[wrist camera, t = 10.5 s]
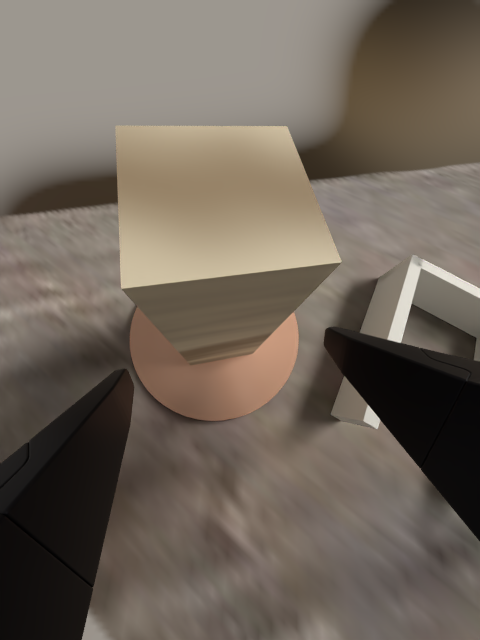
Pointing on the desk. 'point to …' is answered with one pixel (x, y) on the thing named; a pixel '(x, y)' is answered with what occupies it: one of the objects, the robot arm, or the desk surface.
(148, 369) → the terracotta pad
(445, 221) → the desk surface
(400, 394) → the robot arm
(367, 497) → the desk surface
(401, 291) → the walled channel
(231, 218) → the birch block
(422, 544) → the desk surface
